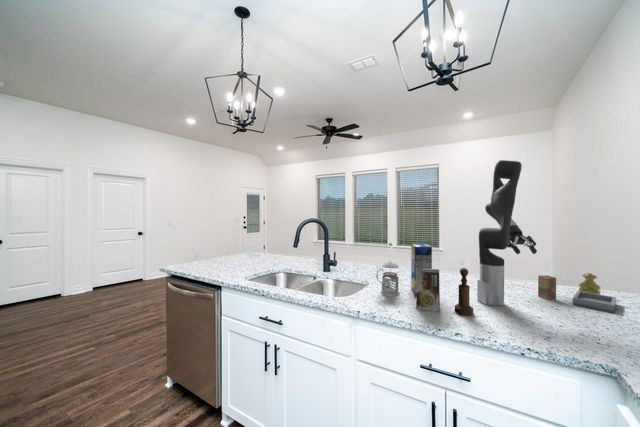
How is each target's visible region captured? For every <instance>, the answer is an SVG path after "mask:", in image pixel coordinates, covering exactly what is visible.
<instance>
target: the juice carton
mask: <svg viewBox="0 0 640 427" xmlns="http://www.w3.org/2000/svg"><path fill="white" fill-rule="evenodd" d="M410 244H411V247H410V248H411V250H410V251H411V253H410V255H411V256H410V258H411V262H410V264H411V265H410V266H411V268H410V270H411V272H410V273H411V276H410V278H411V279H410V282H411V283H410V284H411V286H410V287H411V291H412V293H413V295H414V297H415V298H416V270H417V268H426V269H433V265H432V264H433V246H432V245H430V244H428V243H410Z"/></svg>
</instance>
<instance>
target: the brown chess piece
mask: <svg viewBox="0 0 640 427" xmlns="http://www.w3.org/2000/svg"><path fill="white" fill-rule="evenodd" d="M459 274H460V276H461V279H460V282H461V283H459V284H458V303H457V304H456V305H454V313H456V314H457V315H460V316H466V317H468V316H469V317H472V316H474V308H473V306H471V305H470V304H471V303H470V290H471V289H470V288H471V287H470V285H469V284H467V283H468V279H467V276H468V275H469V270H468V269H467V268H465V267H461V268H460V270H459Z"/></svg>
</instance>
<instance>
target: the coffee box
mask: <svg viewBox="0 0 640 427" xmlns="http://www.w3.org/2000/svg"><path fill="white" fill-rule="evenodd" d="M415 298H416V301H415V302H416V305H415V306H416V309H418V310H423V311H424V310H425V311H432V312H440V311H441V310H440V309H441V308H440V307H441V305H440V300H441V295H440V269H439V268H438V269H436V268H432V269H426V268H417V270H416V297H415Z"/></svg>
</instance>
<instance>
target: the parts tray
mask: <svg viewBox="0 0 640 427" xmlns="http://www.w3.org/2000/svg"><path fill="white" fill-rule="evenodd" d="M616 305H617V298H616V296H611V295H603V294H600V295H599V294H593V293H587V292H581V291H579V290H577V291H576V292H575V294H574V296H573V297H572V306H577V307H582V308H587V309H593V310H597V311H603V312H608V313H613V314H615V310H616Z"/></svg>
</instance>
